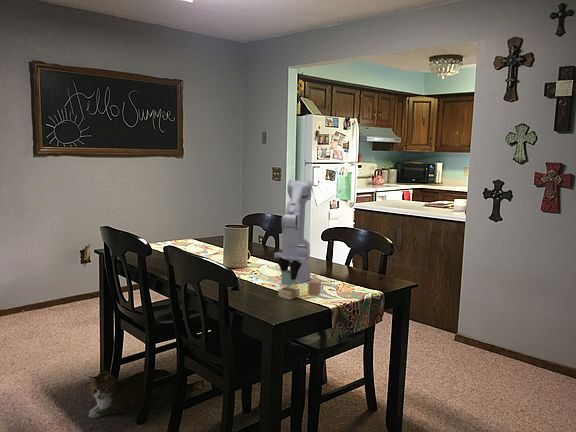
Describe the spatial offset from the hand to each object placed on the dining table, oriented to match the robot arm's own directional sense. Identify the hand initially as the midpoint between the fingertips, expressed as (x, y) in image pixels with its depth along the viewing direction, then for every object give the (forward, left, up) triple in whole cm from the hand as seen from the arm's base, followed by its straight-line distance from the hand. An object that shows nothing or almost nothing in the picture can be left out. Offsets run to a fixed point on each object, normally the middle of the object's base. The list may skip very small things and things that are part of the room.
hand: (289, 278), depth 201 cm
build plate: (+6, -24, -8) cm, 26 cm away
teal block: (0, 0, -2) cm, 2 cm away
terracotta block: (-10, +5, -7) cm, 13 cm away
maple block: (0, 0, -8) cm, 8 cm away
